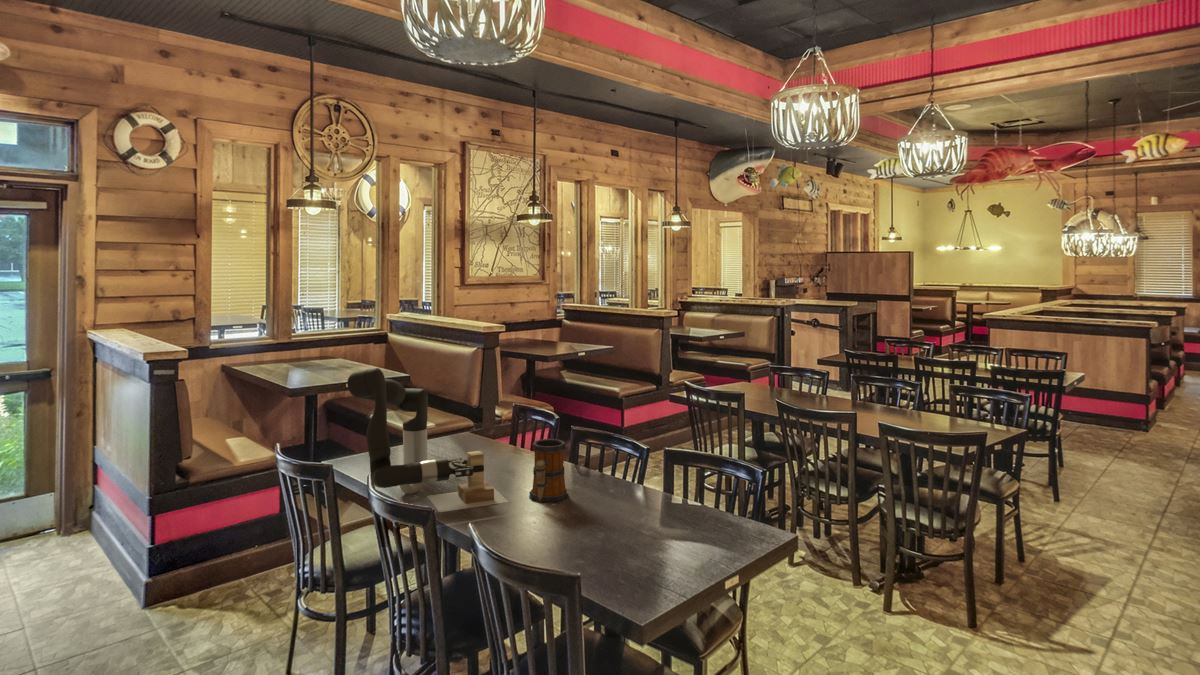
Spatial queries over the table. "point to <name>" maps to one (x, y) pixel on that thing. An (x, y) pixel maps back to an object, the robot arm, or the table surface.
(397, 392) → the robot arm
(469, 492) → the walnut base
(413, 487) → the donut
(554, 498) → the mug
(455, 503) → the build mat
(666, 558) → the table surface
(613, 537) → the table surface
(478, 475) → the maple pillar
